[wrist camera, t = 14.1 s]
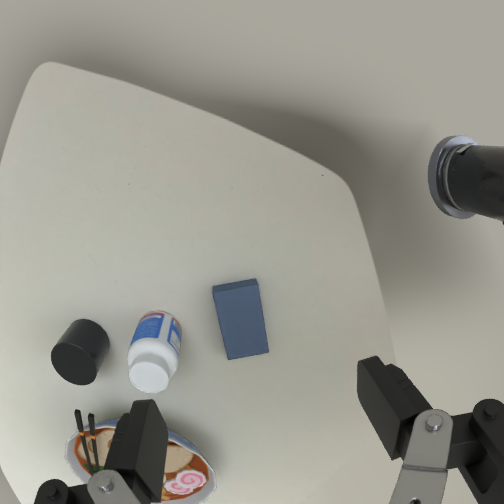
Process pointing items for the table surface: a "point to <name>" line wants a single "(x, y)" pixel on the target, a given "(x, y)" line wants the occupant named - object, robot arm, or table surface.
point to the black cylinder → (80, 352)
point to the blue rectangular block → (241, 318)
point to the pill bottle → (154, 352)
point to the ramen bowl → (176, 466)
